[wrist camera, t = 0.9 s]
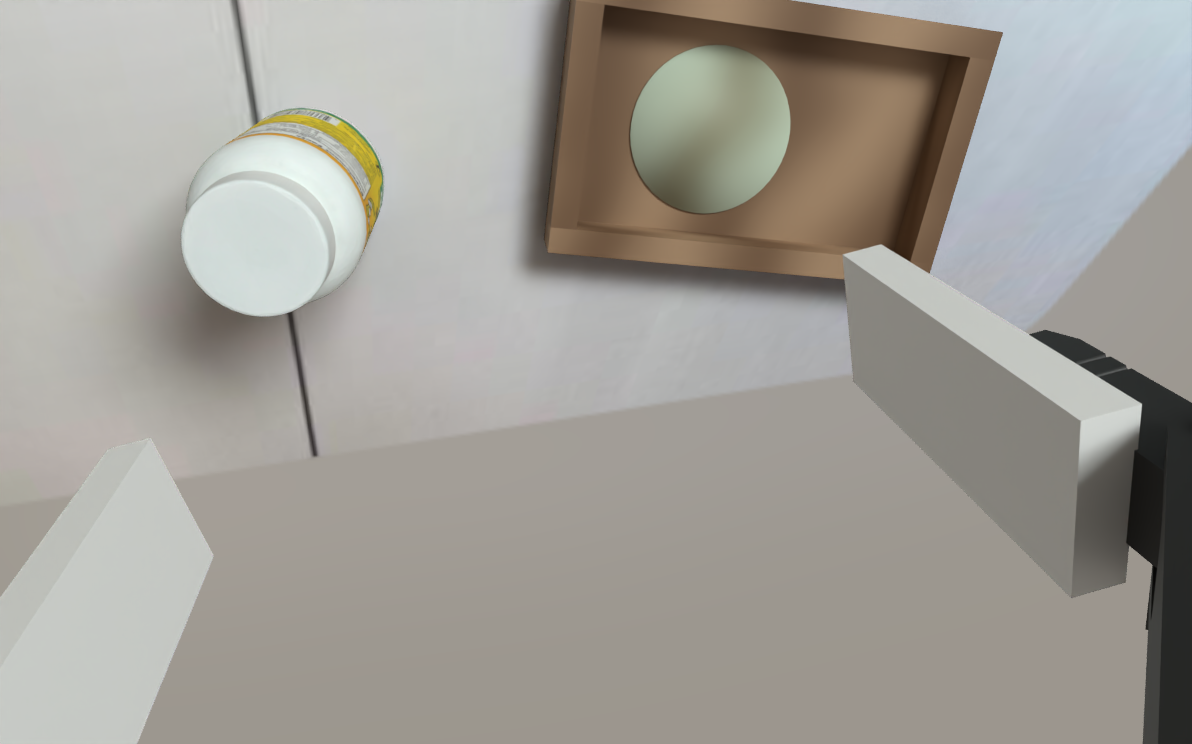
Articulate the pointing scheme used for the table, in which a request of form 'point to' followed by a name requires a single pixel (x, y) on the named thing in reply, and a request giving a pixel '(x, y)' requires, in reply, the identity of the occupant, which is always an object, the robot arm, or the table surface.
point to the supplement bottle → (282, 212)
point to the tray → (759, 133)
